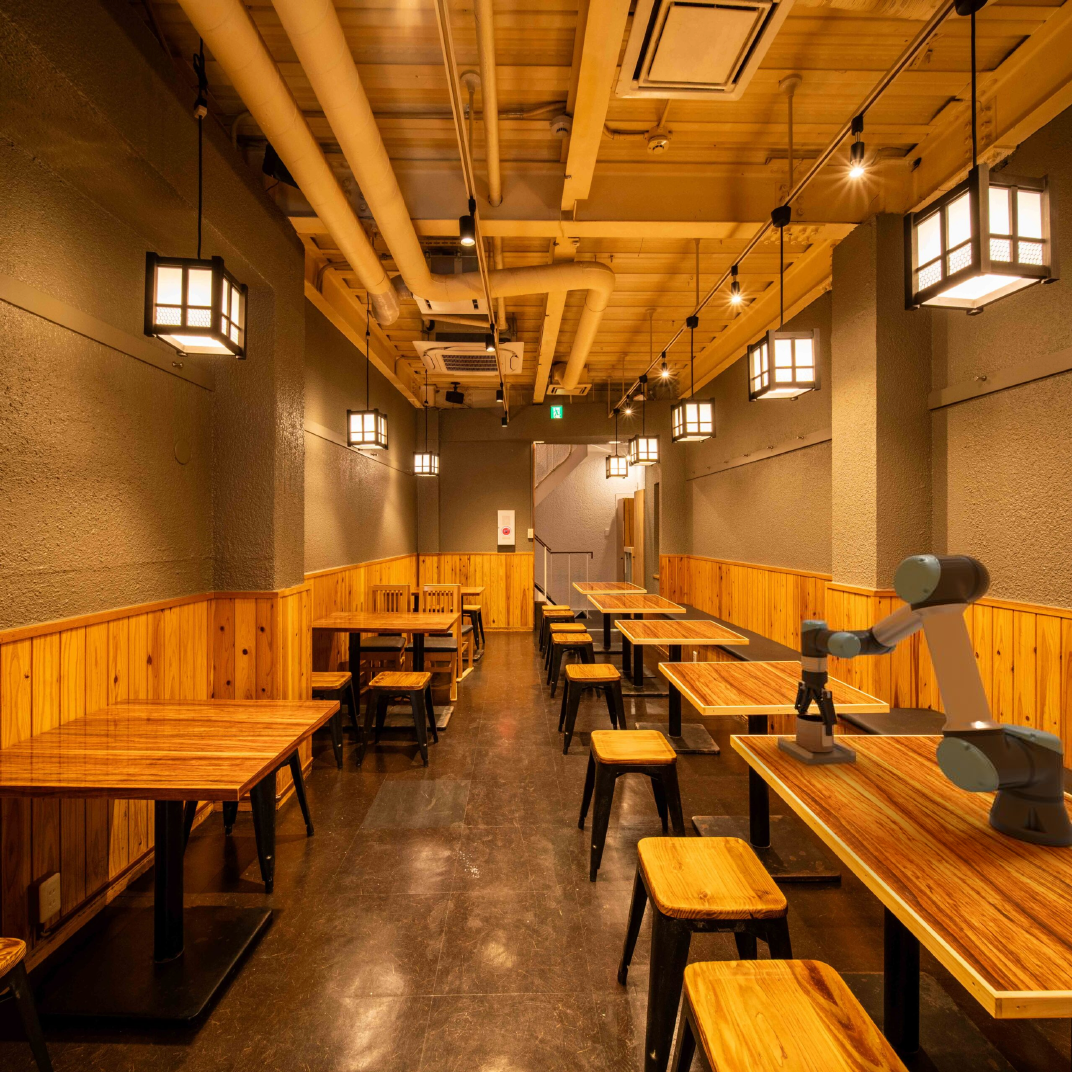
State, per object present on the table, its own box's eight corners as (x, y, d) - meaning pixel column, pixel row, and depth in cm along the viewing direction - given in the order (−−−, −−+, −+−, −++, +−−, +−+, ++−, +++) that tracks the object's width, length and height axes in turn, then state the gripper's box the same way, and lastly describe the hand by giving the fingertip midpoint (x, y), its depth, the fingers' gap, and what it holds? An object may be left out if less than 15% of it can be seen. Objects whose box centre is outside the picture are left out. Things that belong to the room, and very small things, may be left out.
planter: (798, 752, 183) (797, 720, 183) (794, 741, 193) (793, 711, 193) (837, 755, 179) (836, 723, 180) (830, 744, 190) (830, 714, 190)
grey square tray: (856, 762, 179) (856, 751, 180) (807, 765, 177) (807, 753, 177) (822, 745, 195) (822, 734, 195) (777, 747, 193) (777, 737, 193)
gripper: (850, 677, 176) (851, 751, 175) (803, 662, 199) (803, 728, 198) (827, 677, 175) (828, 753, 174) (782, 662, 198) (783, 729, 197)
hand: (815, 739), depth 186 cm, fingers closed on planter, 11 cm apart
